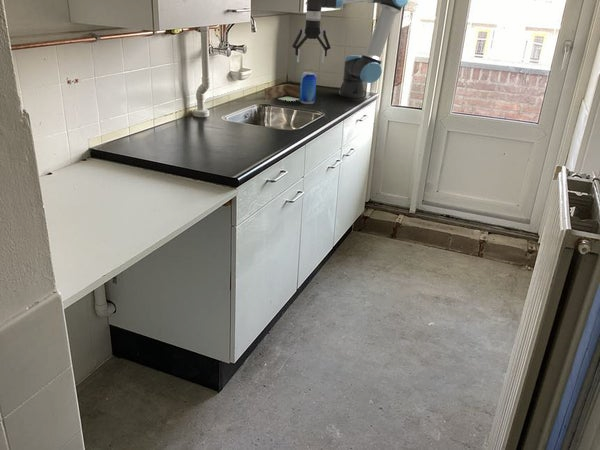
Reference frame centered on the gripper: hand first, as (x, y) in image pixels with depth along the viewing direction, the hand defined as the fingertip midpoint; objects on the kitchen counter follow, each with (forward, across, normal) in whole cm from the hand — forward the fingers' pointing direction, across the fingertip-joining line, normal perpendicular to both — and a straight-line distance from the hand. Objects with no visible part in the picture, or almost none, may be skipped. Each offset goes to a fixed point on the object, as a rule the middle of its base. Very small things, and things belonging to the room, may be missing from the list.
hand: (310, 62), depth 283 cm
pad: (+22, -9, +8) cm, 25 cm away
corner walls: (+22, -10, +8) cm, 25 cm away
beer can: (+22, 0, 0) cm, 22 cm away
